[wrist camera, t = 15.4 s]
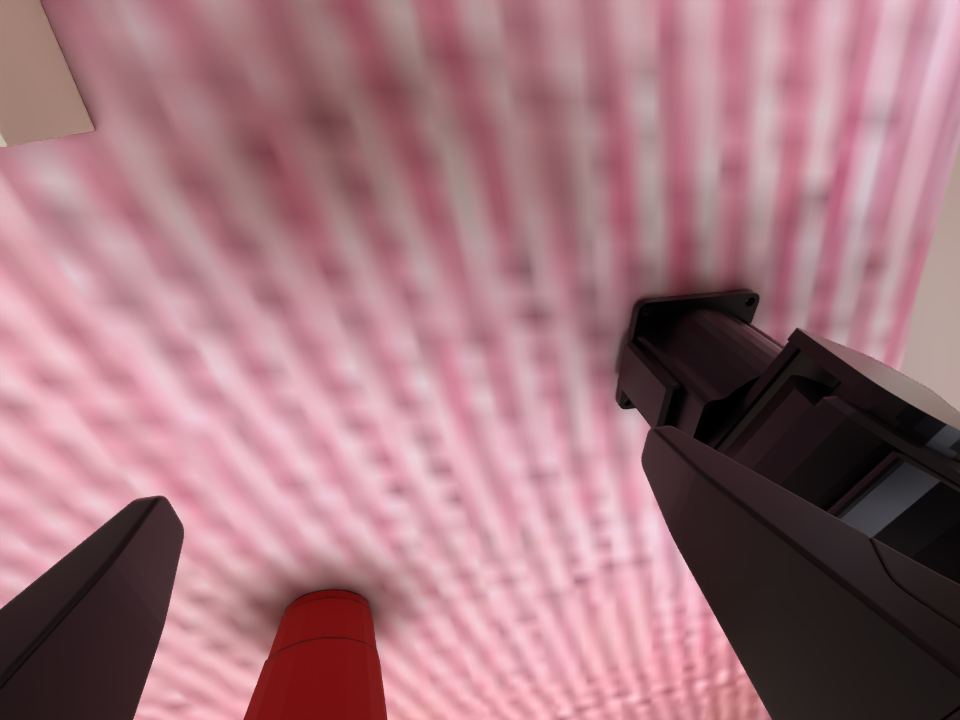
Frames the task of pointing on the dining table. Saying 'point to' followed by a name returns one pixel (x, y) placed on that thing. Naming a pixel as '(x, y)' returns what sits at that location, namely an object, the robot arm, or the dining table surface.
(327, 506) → the dining table surface
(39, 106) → the white square frame
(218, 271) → the dining table surface
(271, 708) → the plastic cup
